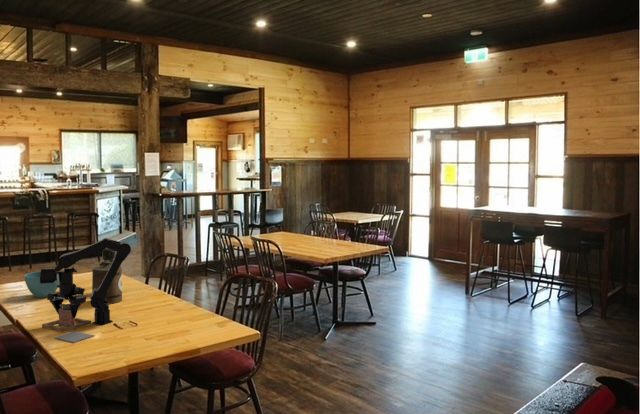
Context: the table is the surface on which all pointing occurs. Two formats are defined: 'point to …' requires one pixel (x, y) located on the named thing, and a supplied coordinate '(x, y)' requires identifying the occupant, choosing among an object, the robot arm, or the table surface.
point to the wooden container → (116, 286)
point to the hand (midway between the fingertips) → (67, 316)
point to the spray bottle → (107, 256)
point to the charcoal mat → (74, 337)
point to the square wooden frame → (81, 322)
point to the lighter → (65, 316)
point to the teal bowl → (39, 285)
